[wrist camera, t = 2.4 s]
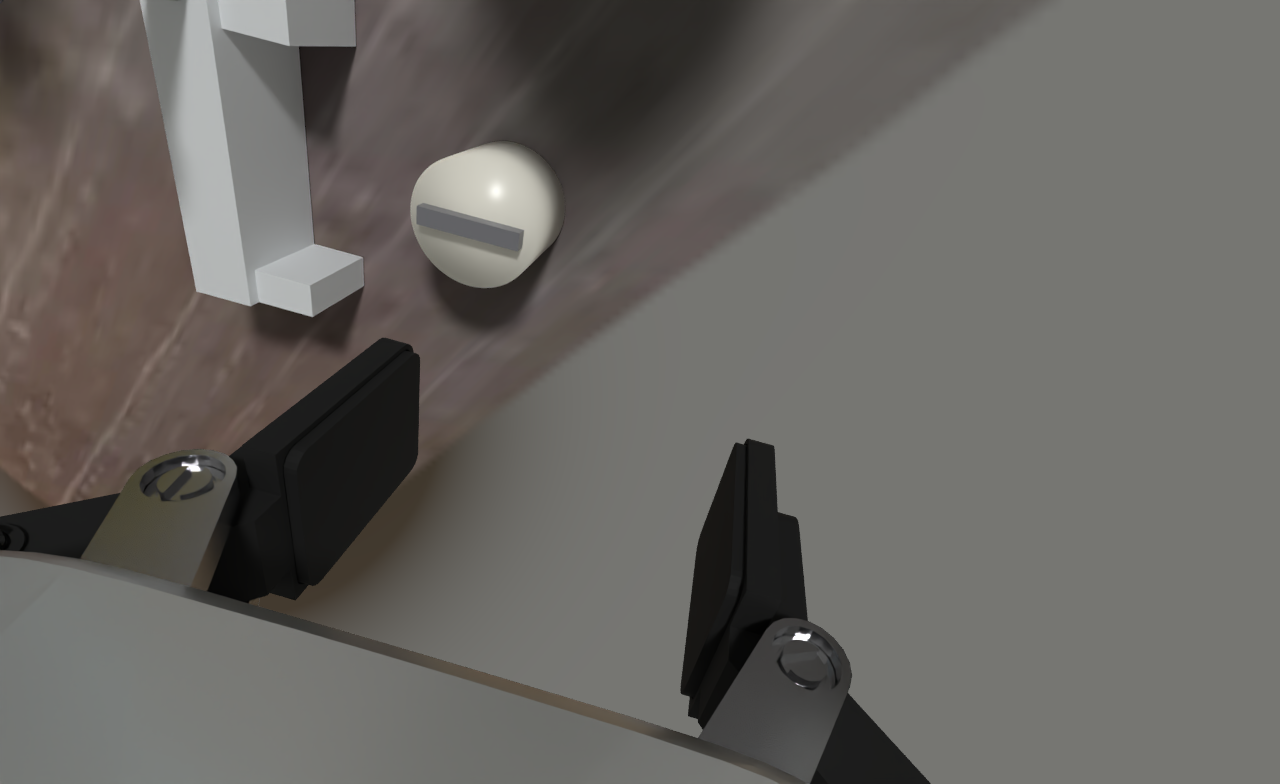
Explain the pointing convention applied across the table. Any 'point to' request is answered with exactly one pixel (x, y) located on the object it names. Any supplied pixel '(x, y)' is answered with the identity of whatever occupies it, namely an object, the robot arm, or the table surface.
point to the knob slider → (487, 212)
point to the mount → (248, 145)
